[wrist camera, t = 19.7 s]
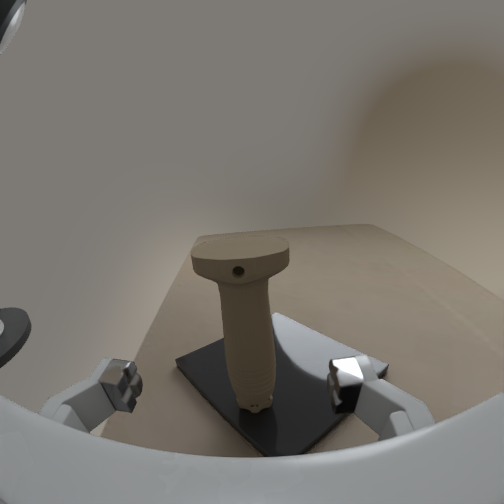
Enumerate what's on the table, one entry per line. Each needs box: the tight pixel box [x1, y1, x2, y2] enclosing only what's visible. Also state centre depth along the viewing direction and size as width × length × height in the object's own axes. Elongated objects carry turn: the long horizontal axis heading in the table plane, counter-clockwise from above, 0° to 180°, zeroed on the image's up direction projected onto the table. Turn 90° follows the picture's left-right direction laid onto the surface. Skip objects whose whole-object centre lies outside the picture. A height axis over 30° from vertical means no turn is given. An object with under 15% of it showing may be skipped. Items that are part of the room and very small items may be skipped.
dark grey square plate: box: [175, 312, 389, 457], centre depth 27 cm, size 16×18×1 cm
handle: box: [191, 236, 289, 413], centre depth 20 cm, size 5×6×15 cm
